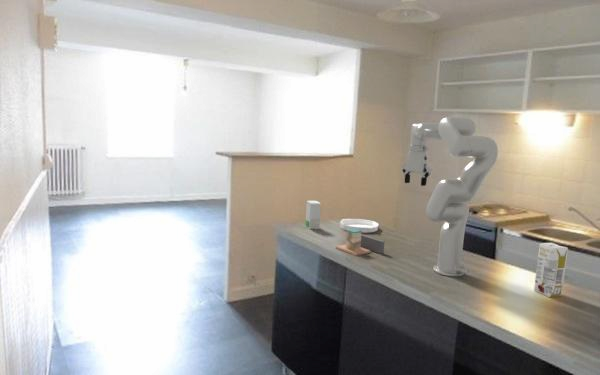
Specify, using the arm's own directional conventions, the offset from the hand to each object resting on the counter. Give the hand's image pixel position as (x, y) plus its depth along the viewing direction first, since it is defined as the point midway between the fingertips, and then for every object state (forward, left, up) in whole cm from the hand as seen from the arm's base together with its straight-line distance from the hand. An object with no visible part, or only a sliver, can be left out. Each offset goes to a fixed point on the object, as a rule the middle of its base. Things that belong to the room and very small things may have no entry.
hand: (415, 184), depth 209 cm
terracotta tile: (+14, +26, -33) cm, 45 cm away
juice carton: (-65, 0, -34) cm, 73 cm away
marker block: (+14, +26, -32) cm, 44 cm away
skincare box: (+60, +14, -34) cm, 70 cm away
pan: (+45, -10, -34) cm, 57 cm away
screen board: (+14, +17, -33) cm, 40 cm away
